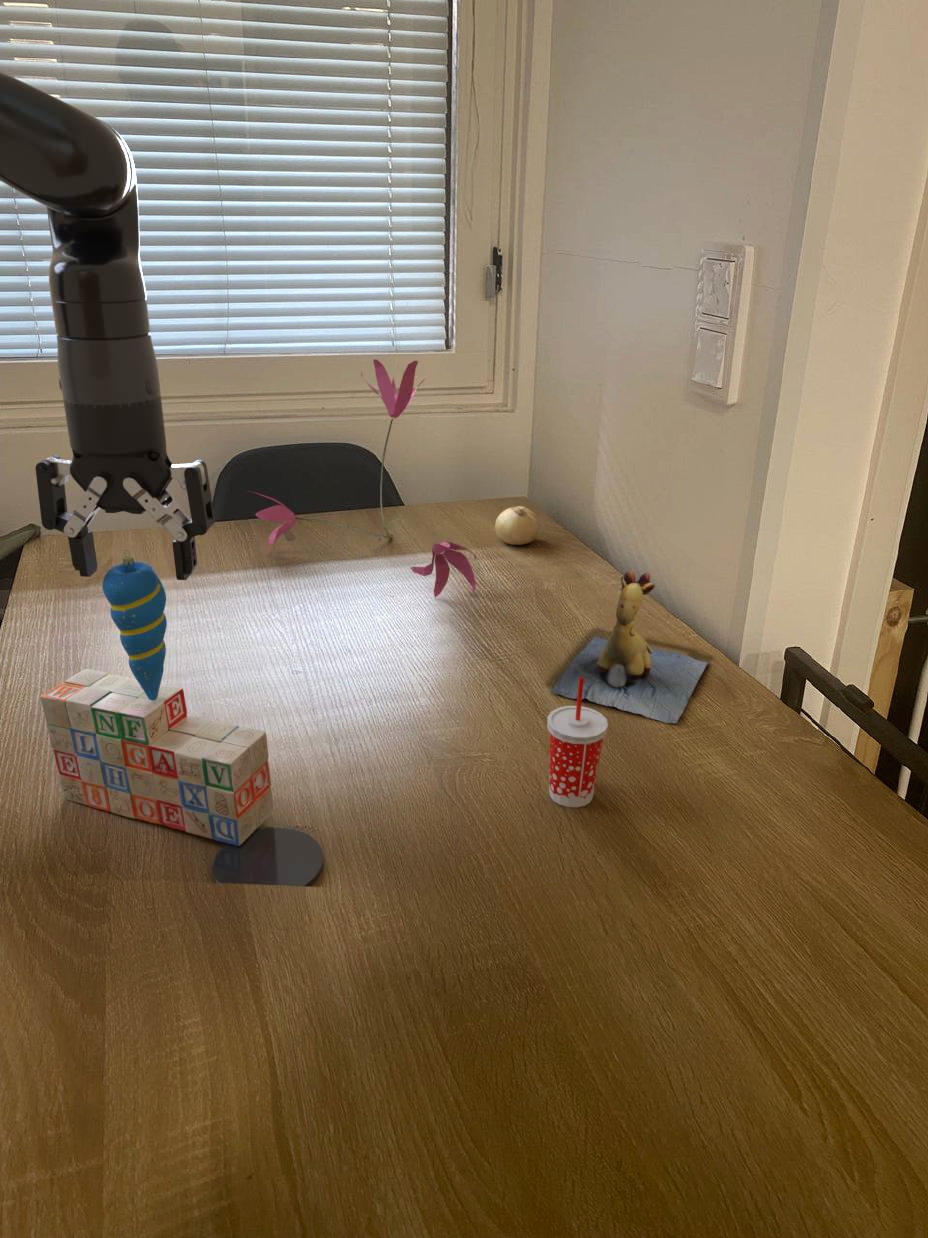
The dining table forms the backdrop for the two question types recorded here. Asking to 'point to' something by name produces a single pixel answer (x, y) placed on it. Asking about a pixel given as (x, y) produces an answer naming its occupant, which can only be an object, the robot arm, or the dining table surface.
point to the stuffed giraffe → (632, 666)
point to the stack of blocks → (156, 758)
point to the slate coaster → (270, 859)
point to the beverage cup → (574, 752)
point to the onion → (517, 526)
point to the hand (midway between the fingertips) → (136, 575)
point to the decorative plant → (395, 408)
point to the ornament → (139, 619)
